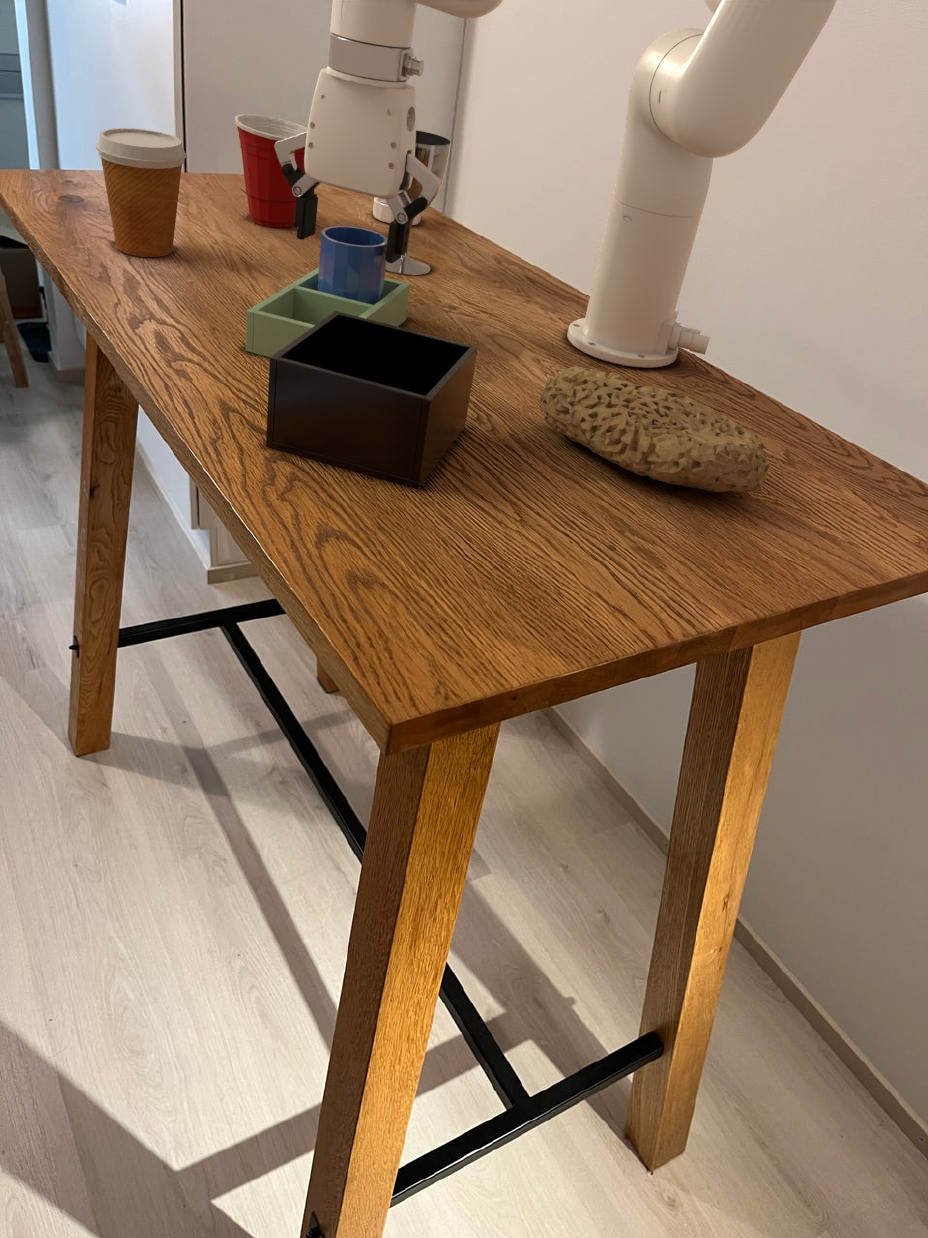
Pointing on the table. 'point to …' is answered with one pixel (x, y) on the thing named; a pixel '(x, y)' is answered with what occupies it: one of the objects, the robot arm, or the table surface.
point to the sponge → (654, 431)
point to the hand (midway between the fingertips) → (349, 248)
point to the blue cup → (352, 263)
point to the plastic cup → (268, 168)
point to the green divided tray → (314, 312)
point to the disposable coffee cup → (142, 188)
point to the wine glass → (435, 158)
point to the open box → (369, 397)
